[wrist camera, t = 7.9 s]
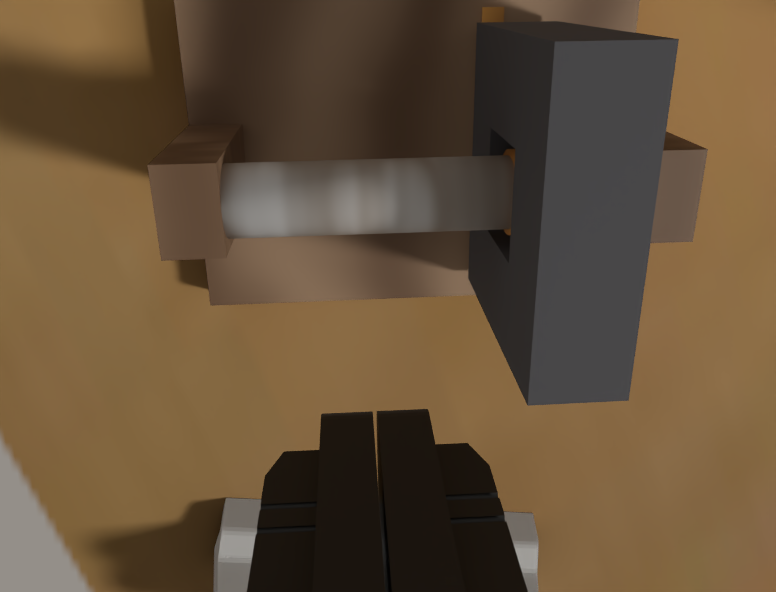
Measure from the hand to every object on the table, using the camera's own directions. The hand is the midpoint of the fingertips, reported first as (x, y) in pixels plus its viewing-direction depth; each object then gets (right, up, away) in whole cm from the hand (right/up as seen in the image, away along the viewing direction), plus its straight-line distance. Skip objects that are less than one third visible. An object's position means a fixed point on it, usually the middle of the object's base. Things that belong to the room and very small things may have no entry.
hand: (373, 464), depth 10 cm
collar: (+5, +8, +18) cm, 20 cm away
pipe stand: (+1, +8, +20) cm, 21 cm away
